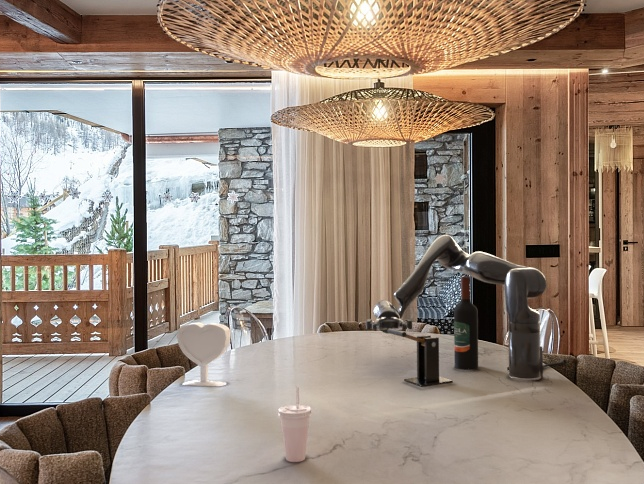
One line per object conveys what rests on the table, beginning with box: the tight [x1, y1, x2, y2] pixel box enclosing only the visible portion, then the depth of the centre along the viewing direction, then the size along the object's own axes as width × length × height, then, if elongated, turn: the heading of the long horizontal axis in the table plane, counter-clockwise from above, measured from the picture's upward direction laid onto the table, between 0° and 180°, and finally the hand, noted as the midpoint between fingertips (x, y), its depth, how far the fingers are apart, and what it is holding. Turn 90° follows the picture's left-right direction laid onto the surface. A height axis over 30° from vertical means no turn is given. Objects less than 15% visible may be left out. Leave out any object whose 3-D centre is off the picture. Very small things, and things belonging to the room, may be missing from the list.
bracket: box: [403, 334, 453, 388], centre depth 177 cm, size 11×9×14 cm
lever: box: [387, 329, 425, 346], centre depth 175 cm, size 13×8×2 cm, turn 118°
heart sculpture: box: [176, 322, 232, 387], centre depth 180 cm, size 16×5×18 cm, turn 79°
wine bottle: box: [453, 276, 479, 371], centre depth 196 cm, size 8×8×30 cm
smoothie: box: [278, 386, 312, 463], centre depth 118 cm, size 6×6×14 cm
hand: (389, 327), depth 182 cm, fingers open, 8 cm apart
